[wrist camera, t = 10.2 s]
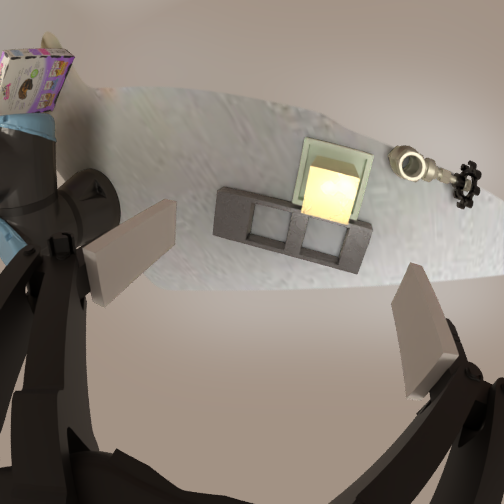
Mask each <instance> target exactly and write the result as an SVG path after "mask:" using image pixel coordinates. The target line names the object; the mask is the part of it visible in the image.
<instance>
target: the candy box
mask: <svg viewBox="0 0 504 504" xmlns="http://www.w3.org/2000/svg"><path fill="white" fill-rule="evenodd" d="M74 58H75V57H74V56H73V55H72V54H71V53H70V52H68V51H67V50H66V49H51V48H36V49H14V50H3V52H2V56H1V58H0V116H1V115H10V114H21V113H41V112H47V111H52V110H53V108H54V106H55V103H56V100H57V98H58V95H59V92H60V90H61V87H62V85H63V82H64V80H65V78H66V75H67V73H68V71H69V68H70V66H71V64H72V62H73V60H74Z"/></svg>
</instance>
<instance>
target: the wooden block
mask: <svg viewBox="0 0 504 504" xmlns="http://www.w3.org/2000/svg"><path fill="white" fill-rule="evenodd" d="M359 180H360V178H359V175H358V173H357V170H356V168H355V165H354V164H351V163H347V162H343V161H339V160H335V159H331V158H327V157H323V156H319V155H317V156H316V158H315V160H314V161H313V163H312V164H311V166H310V171H309V176H308V181H307V186H306V190H305V195H304V200H303V205H302V209H301V213H304V214H308V215H312V216H316V217H320V218H323V219H327V220H331V221H335V222H338V223H342V224H346V225H348V221H349V218H350V214H351V211H352V207H353V203H354V200H355V196H356V192H357V188H358V184H359Z"/></svg>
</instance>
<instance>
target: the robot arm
mask: <svg viewBox="0 0 504 504" xmlns="http://www.w3.org/2000/svg"><path fill="white" fill-rule="evenodd" d="M176 204H177V201H172V200H168V199H164V200H162V201H161V202H159V203H157V204H155V205H153V206H152V207H150V208H148V209H146V210H144V211H143V212H141V213H139V214H137V215H136V216H134V217H132V218H131V219H129V220H127V221H125V222H124V223H122V224H120V225H119V221H120V206H119V201H118V197H117V194H116V192H115V190H114V188H113V186H112V184H111V183H110V181H109V180H108V179H107V177H106V176H105V175H103V174H102V173H101V172H99V171H97V170H95V169H86V170H83V171H80V172H77V173H76V174H74V175H73V176H72V177H71V178H69V179H68V180H67V181H66V182H65V183H64V184H63V185H62V186H60V187H59V188H58V189H57V176H56V138H55V122H54V119H53V117H52V116H51V115H50V114H47V113H21V114H10V115H1V116H0V257H1V259H2V261H3V262H4V264H5V265H6V267H5V269H4V270H3V271H2V273H1V274H0V433H1V430H2V427H3V424H4V420H5V417H6V413H7V410H8V406H9V402H10V399H11V396H12V393H13V390H14V387H15V384H16V381H17V378H18V375H19V373H20V370H21V367H22V364H23V361H24V359H25V356H26V354H27V356H26V365H25V373H24V382H23V389H22V390H21V391H15V392H14V394H13V398H12V408H11V459H12V466H10V467H2V468H0V504H253V503H249V502H245V501H241V500H238V499H234V498H230V497H227V496H222V495H212V494H203V493H197V492H190V491H184V490H181V489H179V488H178V487H176V486H175V485H173V484H172V483H171V482H169V481H168V480H166V479H165V478H164V477H163V476H161V475H160V474H159V473H157V472H156V471H155V470H153V469H152V468H151V467H150V466H148V465H146V464H144V463H142V462H140V461H138V460H137V459H135V458H133V457H131V456H129V455H127V454H125V453H124V452H122V451H120V450H118V449H116V450H115V451H114V453H113V454H112V453H107V452H101V451H99V448H98V445H97V442H96V440H95V437H94V434H93V431H92V424H91V417H90V409H89V398H88V386H87V372H86V371H87V370H86V307H87V301H86V297H85V296H86V295H87V294H88V293H89V292H90V291H91V296H92V300H93V302H94V303H96V304H98V305H100V306H102V307H106V306H107V305H108V304H109V303H111V302H112V301H113V300H114V299H115V298H116V297H117V296H118V295H119V294H120V293H121V292H122V291H123V290H125V288H127V287H128V286H129V285H130V284H131V283H132V282H133V281H134V280H135V279H137V278H138V277H139V276H140V275H141V274H142V273H143V272H144V271H145V270H147V269H148V268H149V267H150V266H151V265H152V264H153V263H154V262H156V261H157V260H158V259H159V258H160V257H161V256H162V255H164V254H165V253H166V252H167V251H168V250H169V249H171V248H172V247H173V246H174V245H175V227H176ZM118 225H119V226H118ZM78 246H81V247H79V248H78V249H76V248H77V247H78ZM26 286H27V290H28V292H27V293H25V287H26ZM391 305H392V310H393V315H394V320H395V325H396V331H397V336H398V342H399V348H400V353H401V360H402V367H403V374H404V382H405V391H406V399H412V400H422V399H423V398H424V397H425V396H426V395H427V394H428V392H429V393H430V400H429V401H428V402H427V403H426V405H424V407H423V408H422V409H421V410H419V411H418V413H417V416H416V417H415V419H414V420H413V422H412V423H411V424H410V425H409V426H408V427H407V429H406V430H405V431H404V432H403V433H402V434H401V435H400V437H399V438H398V439H397V440H396V441H395V443H394V444H392V446H391V447H390V448H389V449H388V450H387V451H386V452H385V453H384V454H383V455H382V456H381V457H380V458H379V459H378V460H377V461H376V462H375V463H374V464H373V466H371V467H370V468H369V469H368V470H367V471H366V472H365V473H364V474H363V475H362V476H361V477H360V478H358V479H357V480H356V481H355V482H354V483H353V484H352V485H351V486H350V487H348V488H347V489H346V490H345V491H344V492H342V493H341V494H340V495H339V496H337V497H336V498H335V499H334V500H332V501H331V502H330V503H329V504H411V502H412V501H413V500H414V499H415V498H416V496H417V495H418V494H419V493H420V491H421V490H422V489H423V487H424V486H425V485H426V483H427V482H428V481H429V479H430V478H431V476H432V475H433V473H434V472H435V471H436V469H437V468H438V466H439V465H440V463H441V462H442V460H443V459H444V457H445V455H446V454H447V452H448V450H449V449H450V447H451V446H452V447H451V450H450V453H449V456H448V459H447V462H446V465H445V468H444V471H443V473H442V476H441V479H440V481H439V483H438V486H437V488H436V491H435V493H434V495H433V498H432V500H431V502H430V504H501V501H502V498H503V494H504V378H503V377H502V378H498V379H497V380H496V382H495V383H494V384H493V385H492V384H490V383H488V382H486V381H484V380H483V375H482V372H481V371H480V369H479V368H478V367H477V366H476V365H475V364H473V363H471V362H468V361H467V357H466V355H465V352H464V349H463V347H462V344H461V342H460V339H459V337H458V333H457V331H456V328H455V326H454V325H453V324H452V322H451V321H450V320H449V319H447V318H445V316H444V313H443V311H442V309H441V306H440V304H439V302H438V299H437V297H436V295H435V292H434V290H433V288H432V286H431V284H430V282H429V279H428V277H427V275H426V273H425V271H424V269H423V267H422V266H420V265H417V264H414V263H411V262H410V264H409V266H408V269H407V271H406V273H405V275H404V278H403V280H402V282H401V284H400V286H399V288H398V291H397V293H396V295H395V297H394V299H393V301H392V303H391Z"/></svg>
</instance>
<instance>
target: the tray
mask: <svg viewBox="0 0 504 504" xmlns="http://www.w3.org/2000/svg"><path fill="white" fill-rule="evenodd" d="M317 155H319V156H323V157H327V158H331V159H335V160H339V161H343V162H347V163H351V164H354V165H355V168H356V170H357V173H358V175H359V178H360V180H359V184H358V188H357V192H356V196H355V200H354V203H353V207H352V211H351V214H350V218H349V219H353V220H357V217H358V214H359V210H360V207H361V203H362V200H363V196H364V192H365V189H366V185H367V181H368V177H369V174H370V170H371V166H372V161H373V157H374V155H372V154H370V153H367V152H363V151H360V150H356V149H353V148H349V147H345V146H341V145H338V144H334V143H330V142H326V141H322V140H317V139H313V138H309V137H305V139H304V145H303V150H302V155H301V160H300V165H299V170H298V175H297V180H296V185H295V190H294V195H293V200H292V203H293V204H297V205H301V206H302V205H303V200H304V195H305V190H306V186H307V181H308V176H309V171H310V166H311V164H312V163H313V161H314V160H315V158H316V156H317Z"/></svg>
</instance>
